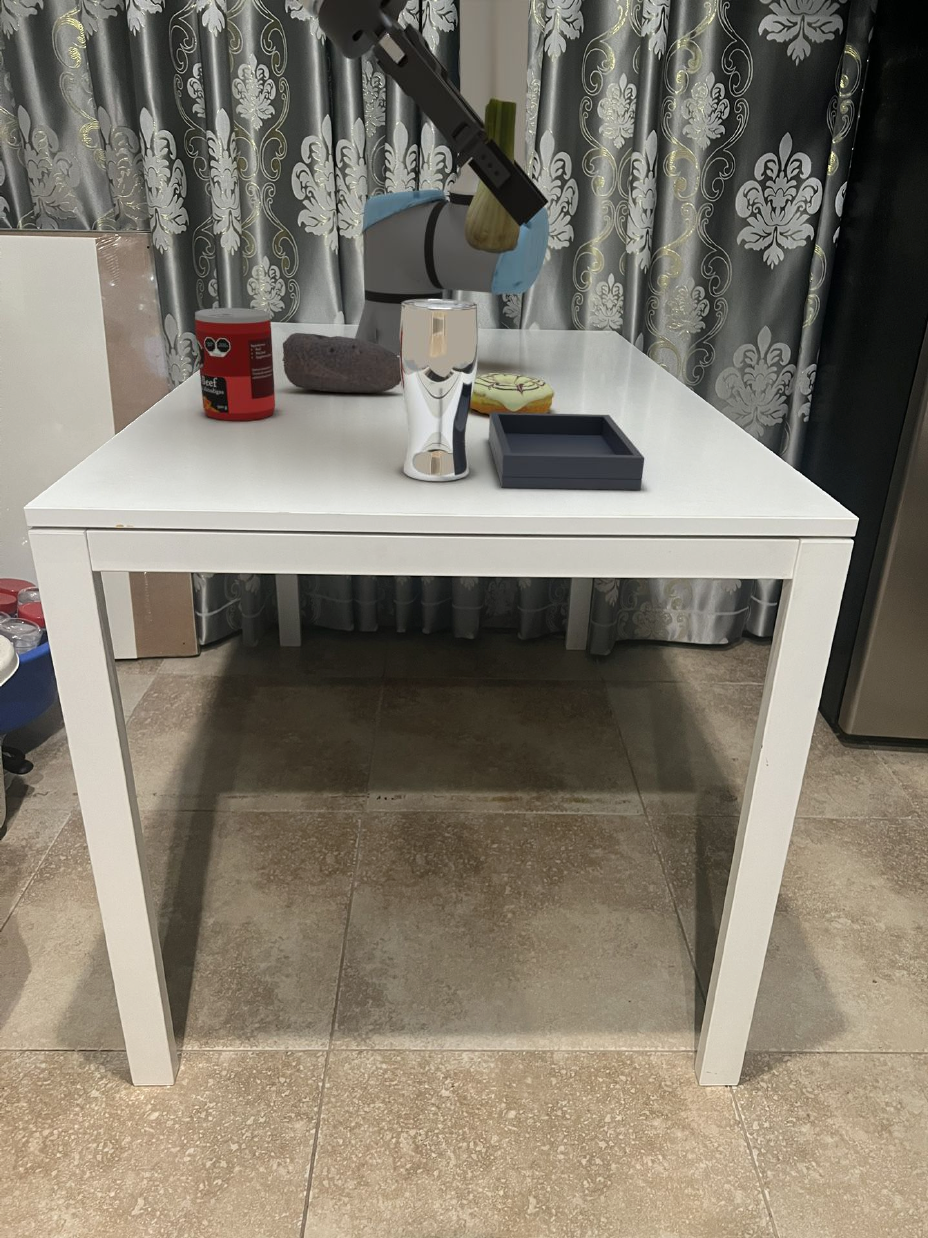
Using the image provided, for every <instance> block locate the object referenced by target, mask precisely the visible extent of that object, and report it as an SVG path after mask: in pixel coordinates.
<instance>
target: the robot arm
mask: <svg viewBox="0 0 928 1238" xmlns="http://www.w3.org/2000/svg"><path fill="white" fill-rule="evenodd" d="M293 1H294V0H287V2H289V3H291V2H293ZM297 1H298V2H299V4H300V5H301V6H302V7H303V8H304V10H305V11H306V12H307V14H309V15H310V16H312V17H317V21H318V27H319V29H320V30H321V31H322V32H323V34H324V35H325V36H326V37H327V38H328V39H329V40H330V42H331V43H332V44H333V45H334V47H335V48H336V49H337V50H338V51H339V52H340V53H341V55H342V56H343V57H344V58H345V59H349V60H355V59H357V58H358V59H359V58H360V57H362V56H364V55H365V54H367V53H368V52H369V51H372V53H373V56H374V57H375V59H376V60H377V61H376V64H377V65H378V67H379V68H380V69H381V70H382V72H383V73H384V74H385V75H386V76H388V78H390V79H391V80H393V81H395V83H396V84H397V86H398V87H399V88H400V89H401V91H402V92H403V93H404V94H405V96H407V97H408V98H409V99H410V100H412V102H413V101H414V102H415V104H416V105H417V106H418V107H419V109H421V112H423V113H424V115H425V116H426V117H427V118H428V120H429V121H430V122H431V123H432V124H433V126H434V127H435V128H436V129H437V130H438V131H439V133H440V134H441V135H442V136H443V138H444V139H445V140H446V141H447V143H448V144H449V146H450V148H451V150H452V151H453V152H455V153H456V154H458V155H457V156H456V157H455V158H454V159H453V162H454V164H456V166H457V167H459V169H460V175H459V177H458V178H457V180H456V181H455V182H454V183H453V184H452V186H451V187H450V188H449V200H447V196H446V194H445V191H444V190H442V189H421V190H409V191H401V192H400V191H399V192H390V193H383V194H378V195H377V194H376V195H373V196H371V197H370V198H368V199H367V200H366V202H365V204H364V208H363V217H362V218H363V219H362V229H361V234H362V245H363V246H362V247H363V249H362V251H363V253H362V254H363V285H364V286H363V290H364V292H363V293H364V295H363V296H364V300H363V302H364V303H363V309H362V312H361V316H360V320H359V322H358V326H357V329H356V332H355V336H354V338H355V339H360V340H364V341H368V342H371V343H374V344H377V345H380V346H382V347H384V348H386V349H388V350H390V351H391V352H393V353H394V354H395V355H397V356H398V357H399V334H400V321H401V308H402V304H401V303H402V302H403V301H406V300H414V299H444V296H443V294H444V290H449V291H464V292H474V293H475V292H476V293H488V294H493V295H494V296H500V295H521V294H524V293H525V292H527V291H528V290H530V289H531V287H532V286H533V285H534V284H535V282H536V281H537V279H538V278H539V275H540V273H541V270H542V267H543V265H544V261H545V257H546V253H547V250H548V244H549V237H550V220H549V213H548V209H547V208H546V207H545V206H546V205H547V204H548V203H549V202H550V201H549V200H548V199H547V198H546V196H545V195H544V194H543V193H542V191H541V190H540V189H539V188H538V186H537V185H536V184H535V183H534V181H533V180H532V178H530V176H529V175H528V174H527V172H526V171H525V169H526V135H527V131H526V130H527V100H528V99H527V97H528V93H527V92H528V89H527V88H528V62H529V61H528V57H529V53H528V52H529V17H530V0H459V56H460V57H459V75H460V76H459V81H460V83H459V84H460V85H459V87H460V88H459V90H460V91H459V90H458V88H457V87H456V86H455V85H454V84H453V82H452V81H451V80H450V78H448V77H449V73H448V70H447V68H446V67H445V66H444V65H443V64H442V62H441V61H440V59H438V57H437V56H436V55H435V54H434V52H433V51H432V50H431V49H430V45H429V41H428V40H427V39H426V38H425V36H423V34H422V33H421V32H420V31H419V30H418V29H417V28H416V27H414V25H413V24H412V23H411V22H409V23H408V24H407V25H406V27H405V28H404V27H403V26H402V24H401V23H400V22H399V18H400V15H401V13H402V12H403V11H404V10H405V8H406V6H407V4H408V1H409V0H297ZM491 98H494V99H498V100H505V101H511V102H516V104H517V106H516V121H515V139H514V164H513V163H512V162H511V161H510V159H509V158H508V157H507V156H506V154H505V153H504V152H503V151H502V150H501V148H500V147H499V146H498V145H497V143H496V142H495V141H494V140H493V139H492V138H491V139H490V141H489V142H488V143H487V144H485V142H486V141H487V140H488V139H489V138H488V136H487V132H486V131H485V130H484V125H485V108H486V105H487V104H488V103H489V101H490V99H491ZM479 179H481V181H482V182H483V183H484V184H485V185H486V187H487V188H488V189H489V190H490V191H491V193H492V194H493V195H494V196H495V197H496V199H497V200H498V201H499V202H500V203H501V205H502V206H503V207H504V208H505V210H506V211H507V212H508V213H509V214H510V216H511V217H512V218H513V219H514V220H515V222H516V223H517V224H518V225H519V226H520V233H519V238H518V245H517V247H516V248H515V250H513V251H507V252H505V253H500V254H495V253H488V252H485V251H483V250H476V249H474V248H472V247H471V246H470V245H469V244H468V243H467V241H466V237H465V221H466V216H467V213H468V210H469V207H470V204H471V202H472V200H473V197H474V195H475V193H476V191H477V187H478V183H479Z"/></svg>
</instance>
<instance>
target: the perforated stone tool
mask: <svg viewBox="0 0 928 1238" xmlns="http://www.w3.org/2000/svg"><path fill="white" fill-rule="evenodd" d="M282 351H283V353H282V354H283V358H282V359H281V361H282V362H283V371H284V373H285V376H286V379H287V380H288V382H289V383H291V384H292V385H293V386H295V387H298V388H301V389H308V390H313V391H319V392H331V393H344V394H351V393H352V394H359V393H360V394H376V393H382V392H386V391H390V390H393V389H394V388H396V387H397V386H399V385H400V384H401V378H400V369H399V357H398V356H397V355H395V354H394V353H393V352H391V351H390V350H388V349H386V348H384V347H382V346H380V345H377V344H374V343H371V342H368V341H364V340H360V339H355V337H347V336H341V335H335V336H328V335H322V334H317V333H306V332H295V333H290V335H289V336H288V337H286V339H285V341H283V342H282Z"/></svg>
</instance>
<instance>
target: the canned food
mask: <svg viewBox="0 0 928 1238" xmlns="http://www.w3.org/2000/svg"><path fill="white" fill-rule="evenodd" d="M194 314H195V315H194V316H195V317H194V321H195V323H194V324H195V335H196V345H197V357H198V366H199V377H200V386H201V387H200V389H201V399H202V407H203V410H204V413H205V415H206V416H207V417H210V418H211V419H214V420H215V419H216V420H221V421H232V422H233V421H236V422H237V421H239V422H240V421H244V422H245V421H255V420H261V419H266V418H268V417H270V416H272V415H273V414H274V412H275V408H276V395H275V393H276V392H275V375H274V357H273V356H274V355H273V338H272V323H271V322H272V321H271V316H270V315H271V314H270V312H269V311H267V310H262V309H255V308H244V307H218V308H205V309H200V310H197V311H195V313H194Z"/></svg>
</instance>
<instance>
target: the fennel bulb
mask: <svg viewBox="0 0 928 1238" xmlns="http://www.w3.org/2000/svg"><path fill="white" fill-rule="evenodd" d="M516 106H517V104H516V102H511V101H505V100H498V99H494V98H491V99H490V101H489V103H488V104H487V105H486V108H485V125H484V130H485V131H486V132H487V136H488V138H489V139H488V140H487V141H486V142H485V144H487V143H488V142H489V141H490V139H491V138H492V139H493V140H494V141H495V142H496V143H497V145H498V146H499V147H500V148H501V150H502V151H503V152H504V153H505V154H506V156H507V157H508V158H509V159H510V161H511V162H512V163H513V164H514V139H515V121H516ZM519 233H520V226H519V225H518V224H517V223H516V222H515V220H514V219H513V218H512V217H511V216H510V214H509V213H508V212H507V211H506V210H505V208H504V207H503V206H502V205H501V203H500V202H499V201H498V200H497V199H496V197H495V196H494V195H493V194H492V193H491V191H490V190H489V189H488V188H487V187H486V185H485V184H484V183H483V182H482V181H481V179H479V183H478V187H477V191H476V193H475V195H474V197H473V200H472V202H471V204H470V207H469V210H468V213H467V216H466V221H465V237H466V241H467V243H468V244H469V245H470V246H471V247H472V248H474V249H476V250H483V251H485V252H488V253H495V254H500V253H505V252H507V251H513V250H515V248H516V247H517V245H518V238H519Z"/></svg>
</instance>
